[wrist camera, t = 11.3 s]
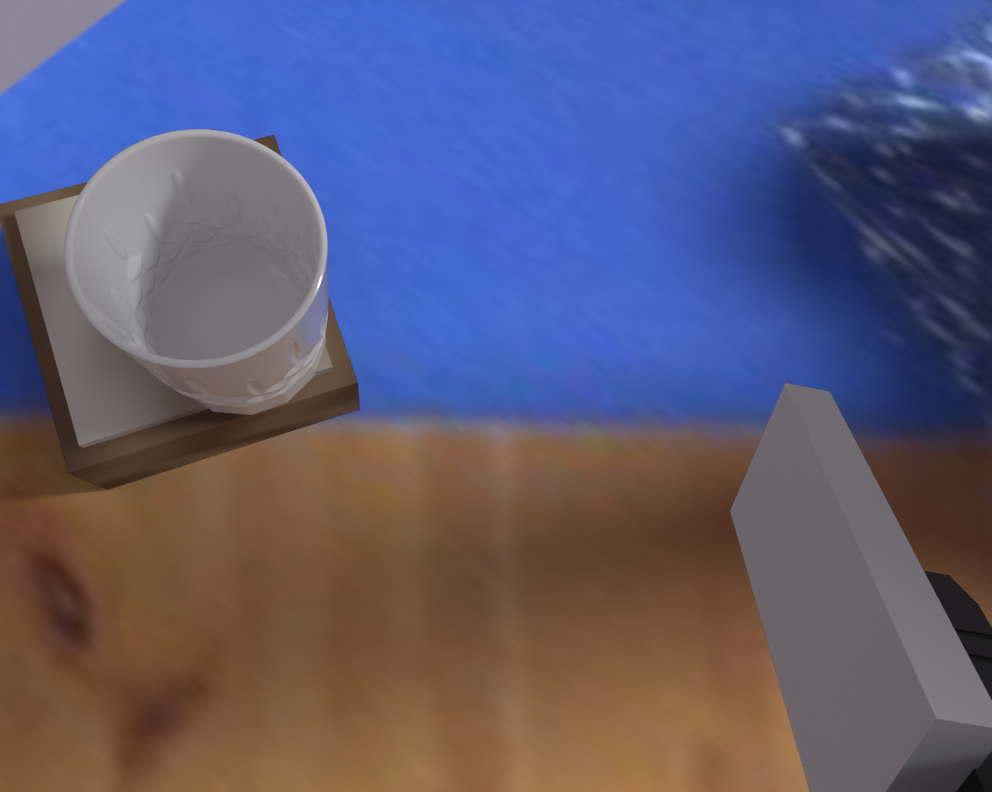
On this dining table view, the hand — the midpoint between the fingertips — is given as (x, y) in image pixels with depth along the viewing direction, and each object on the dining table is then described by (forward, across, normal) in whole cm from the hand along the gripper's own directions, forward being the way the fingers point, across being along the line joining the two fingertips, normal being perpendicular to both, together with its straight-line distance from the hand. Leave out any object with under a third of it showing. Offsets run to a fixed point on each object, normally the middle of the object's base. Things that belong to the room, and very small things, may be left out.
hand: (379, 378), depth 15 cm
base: (+25, -11, -15) cm, 31 cm away
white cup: (+20, -7, -12) cm, 25 cm away
